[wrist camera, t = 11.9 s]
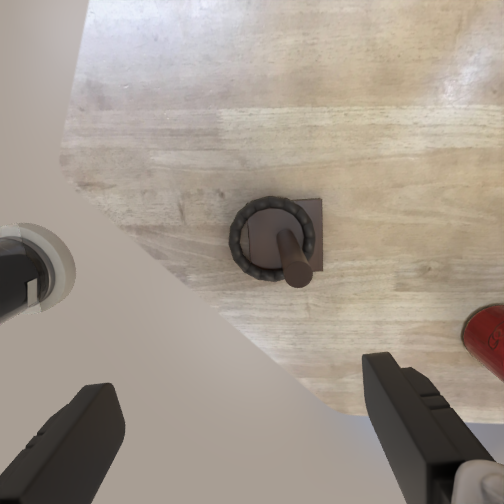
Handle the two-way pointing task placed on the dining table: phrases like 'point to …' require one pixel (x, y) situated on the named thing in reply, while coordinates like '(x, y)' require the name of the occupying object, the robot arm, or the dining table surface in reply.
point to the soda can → (487, 338)
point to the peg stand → (286, 242)
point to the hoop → (251, 210)
